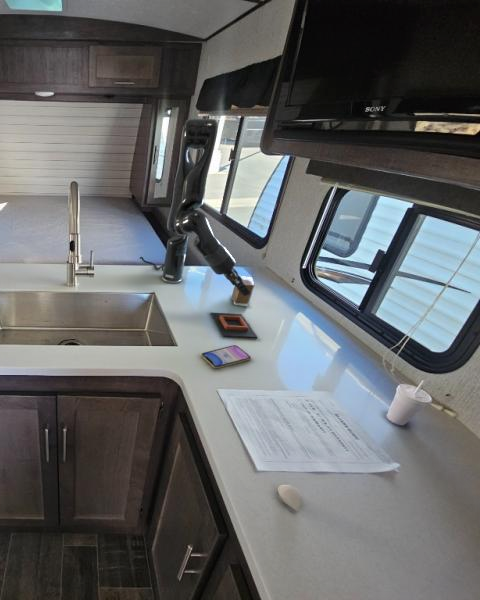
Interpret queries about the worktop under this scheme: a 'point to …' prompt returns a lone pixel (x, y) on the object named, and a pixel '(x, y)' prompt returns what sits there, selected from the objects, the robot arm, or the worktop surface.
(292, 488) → the cream seashell
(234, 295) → the oak block
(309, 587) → the worktop surface
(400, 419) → the smoothie
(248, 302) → the small box
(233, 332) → the dock pad
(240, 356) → the smartphone
